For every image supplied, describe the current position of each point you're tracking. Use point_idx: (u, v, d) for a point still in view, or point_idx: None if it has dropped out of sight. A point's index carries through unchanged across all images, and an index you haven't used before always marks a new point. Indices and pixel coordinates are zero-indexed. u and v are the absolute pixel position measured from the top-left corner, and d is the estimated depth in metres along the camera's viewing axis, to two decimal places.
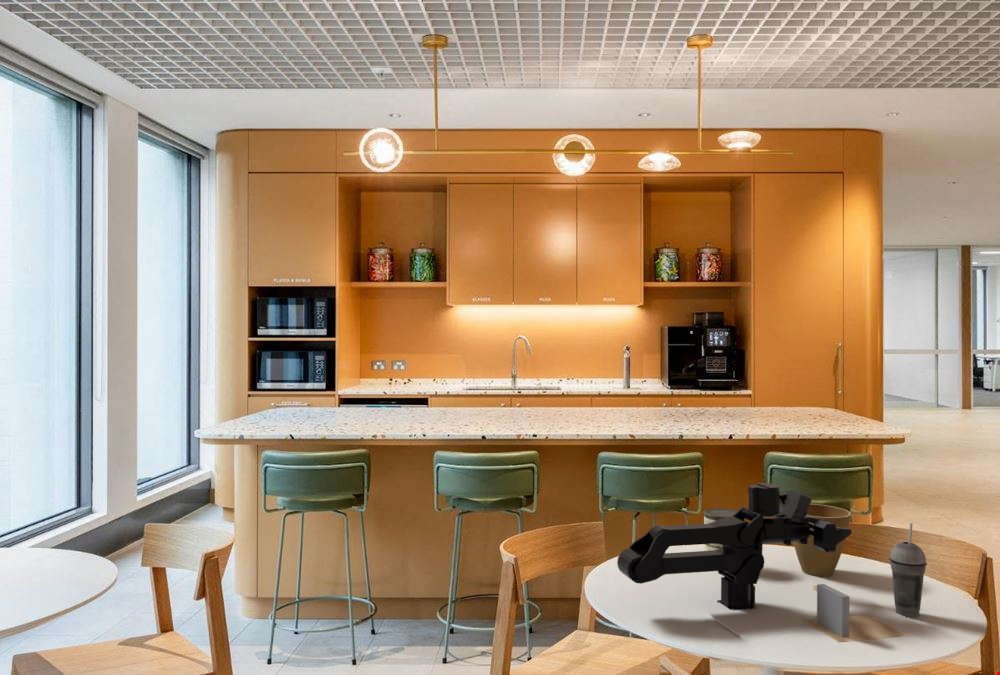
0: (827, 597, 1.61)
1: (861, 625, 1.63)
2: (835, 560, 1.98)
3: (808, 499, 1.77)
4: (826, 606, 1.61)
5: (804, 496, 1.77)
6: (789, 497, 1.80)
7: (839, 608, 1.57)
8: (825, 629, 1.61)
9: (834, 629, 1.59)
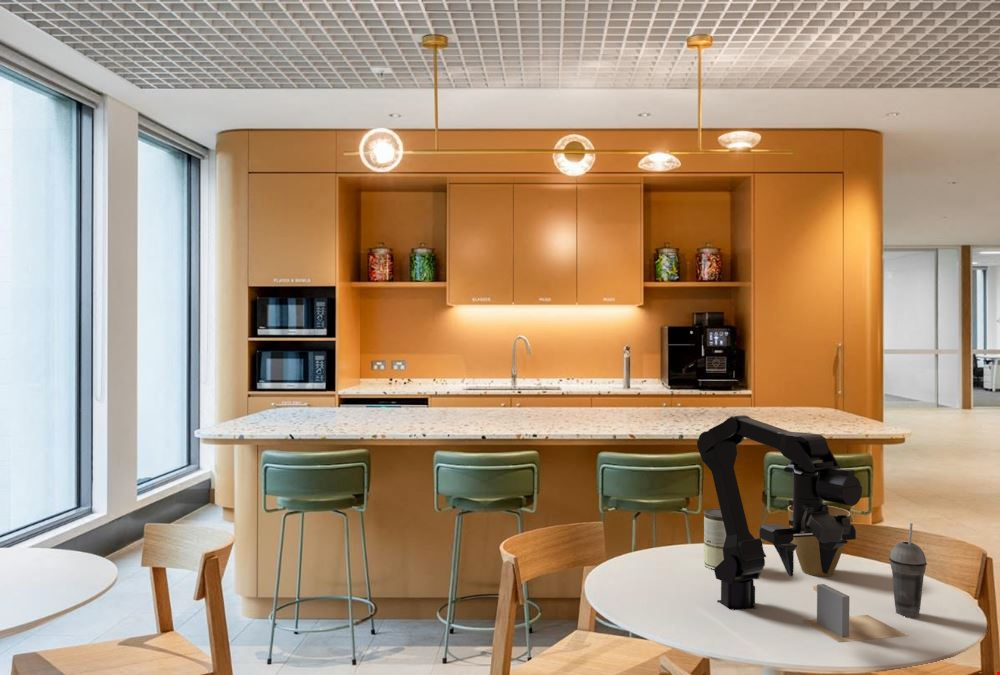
0: (827, 597, 1.61)
1: (861, 625, 1.63)
2: (835, 560, 1.98)
3: (820, 537, 1.52)
4: (826, 606, 1.61)
5: (823, 533, 1.51)
6: (835, 523, 1.53)
7: (839, 608, 1.57)
8: (825, 629, 1.61)
9: (834, 629, 1.59)
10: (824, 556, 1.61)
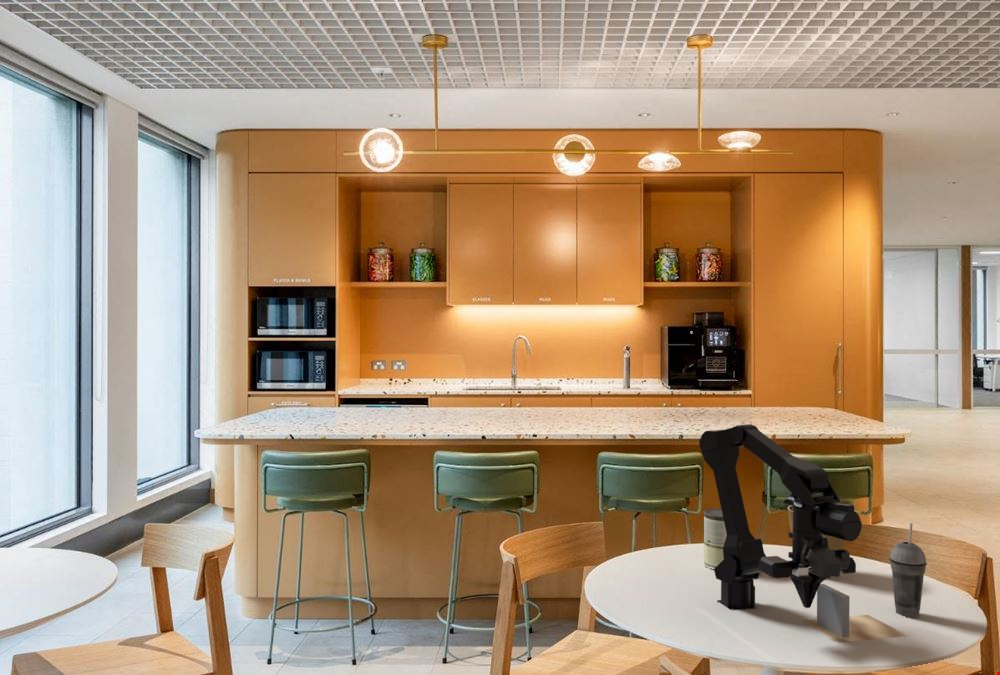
0: (827, 597, 1.61)
1: (861, 625, 1.63)
2: None
3: (819, 572, 1.52)
4: (826, 606, 1.61)
5: (822, 568, 1.51)
6: (834, 558, 1.53)
7: (839, 608, 1.57)
8: (825, 629, 1.61)
9: (834, 629, 1.59)
10: None
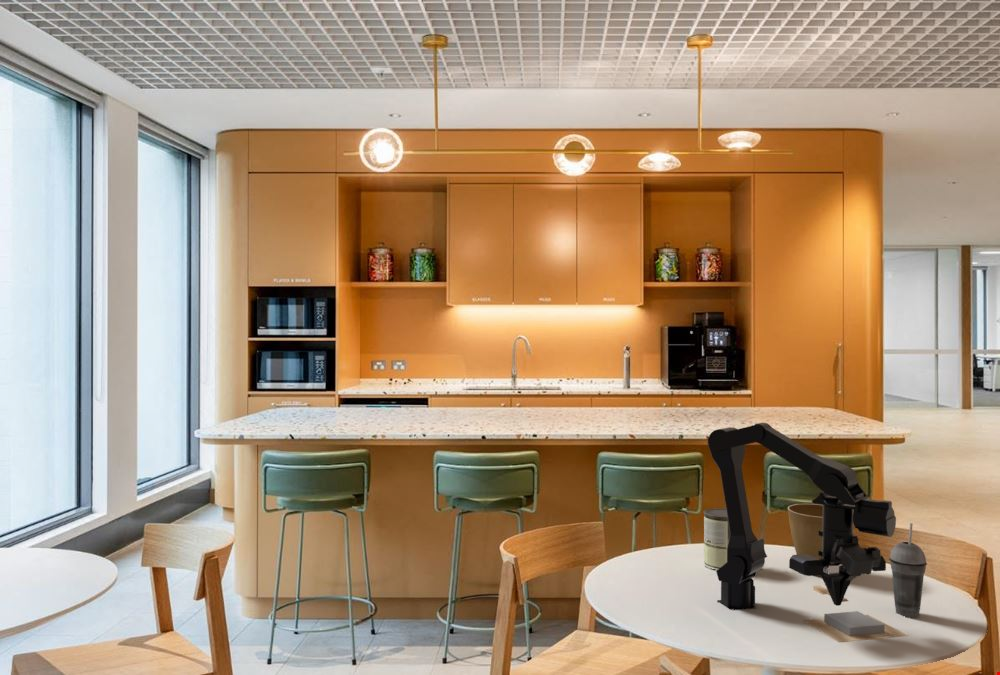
0: (861, 617, 1.63)
1: None
2: None
3: (850, 569, 1.53)
4: (853, 617, 1.63)
5: (853, 566, 1.53)
6: (865, 555, 1.54)
7: (870, 624, 1.59)
8: (825, 629, 1.61)
9: (845, 623, 1.59)
10: None
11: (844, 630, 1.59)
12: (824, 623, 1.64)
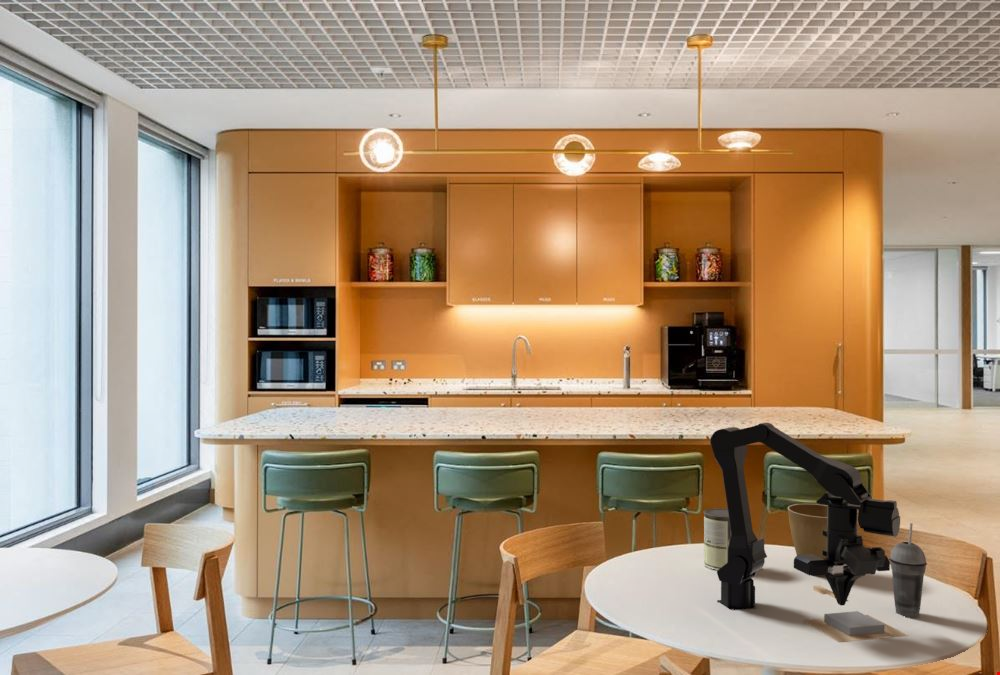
0: (861, 617, 1.63)
1: None
2: None
3: (855, 569, 1.54)
4: (853, 617, 1.63)
5: (858, 566, 1.53)
6: (870, 556, 1.55)
7: (870, 624, 1.59)
8: (825, 629, 1.61)
9: (845, 623, 1.59)
10: None
11: (844, 630, 1.59)
12: (824, 623, 1.64)
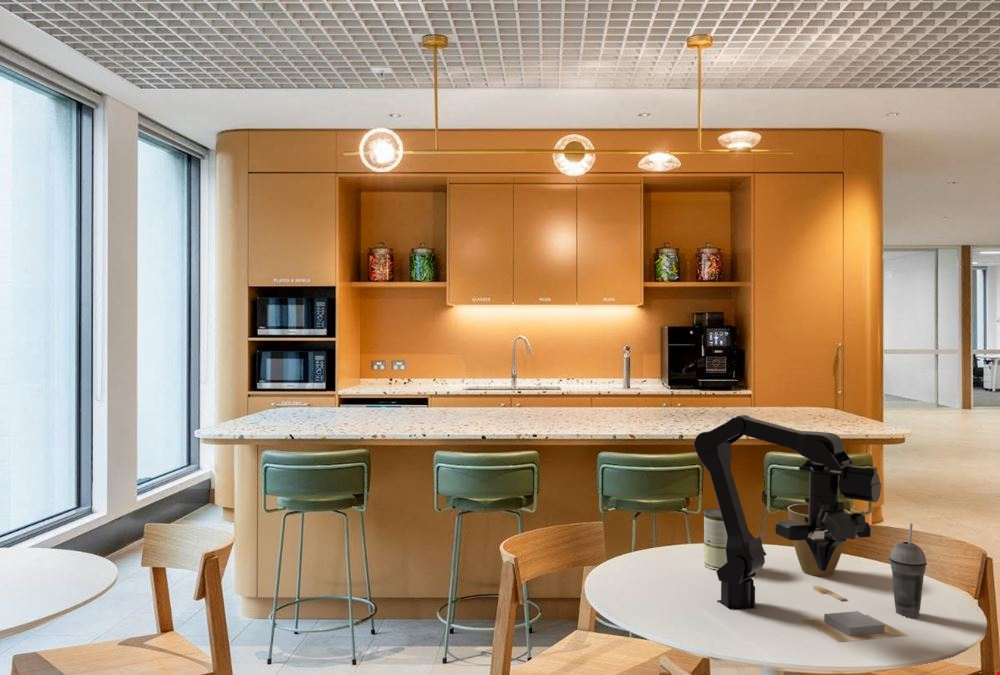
0: (861, 617, 1.63)
1: None
2: (835, 560, 1.98)
3: (834, 534, 1.55)
4: (853, 617, 1.63)
5: (838, 530, 1.55)
6: (850, 521, 1.56)
7: (870, 624, 1.59)
8: (825, 629, 1.61)
9: (845, 623, 1.59)
10: None
11: (844, 630, 1.59)
12: (824, 623, 1.64)
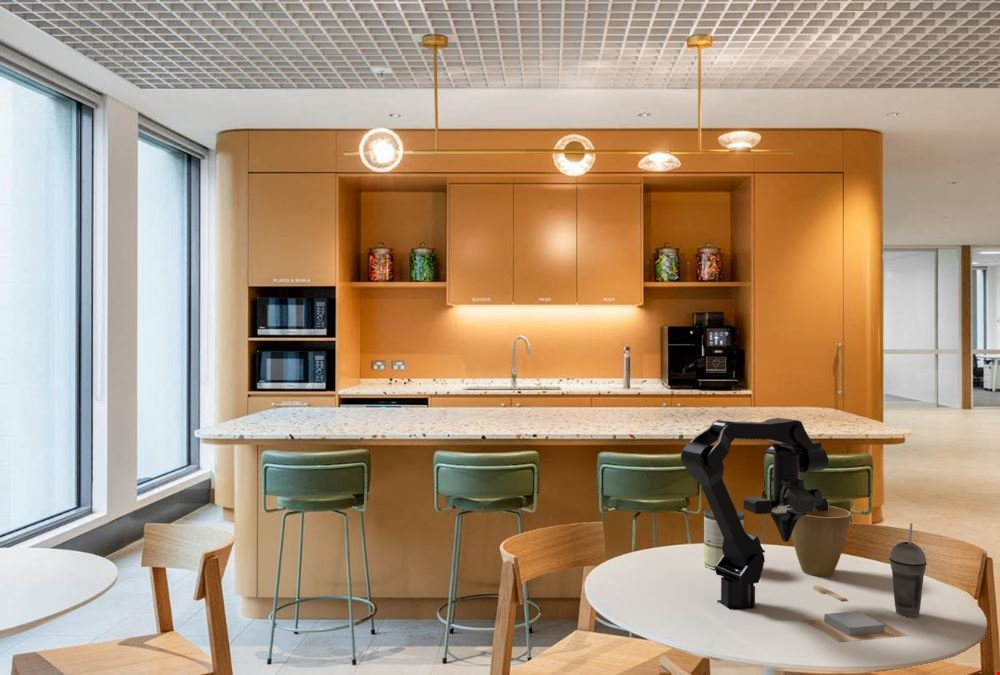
0: (861, 617, 1.63)
1: None
2: (835, 560, 1.98)
3: (795, 507, 1.74)
4: (853, 617, 1.63)
5: (798, 504, 1.74)
6: (809, 496, 1.75)
7: (870, 624, 1.59)
8: (825, 629, 1.61)
9: (845, 623, 1.59)
10: None
11: (844, 630, 1.59)
12: (824, 623, 1.64)
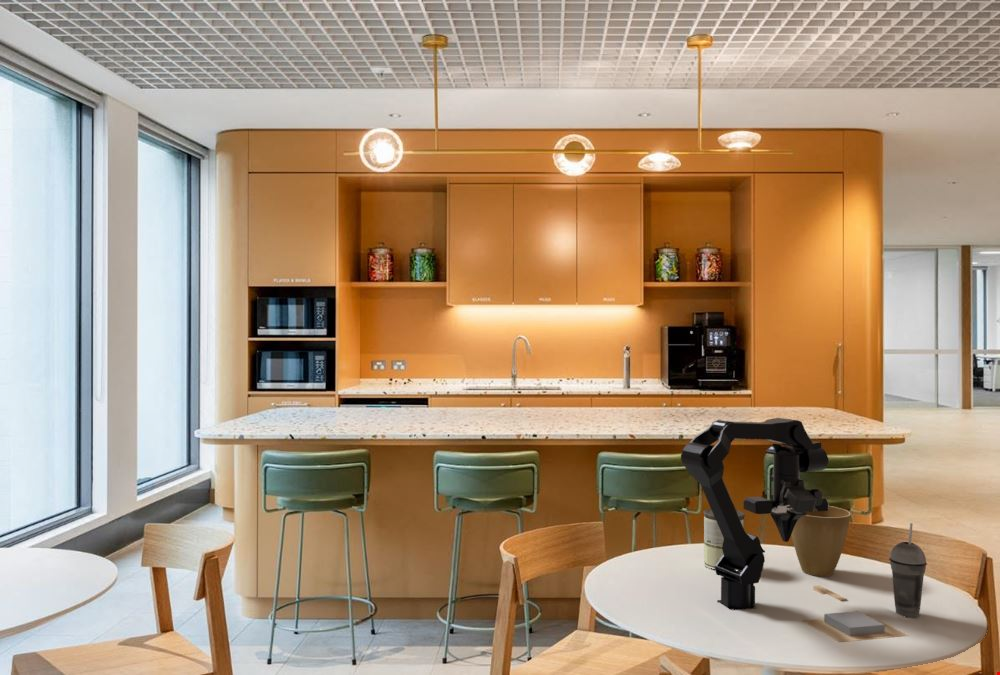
0: (861, 617, 1.63)
1: None
2: (835, 560, 1.98)
3: (795, 507, 1.74)
4: (853, 617, 1.63)
5: (798, 504, 1.74)
6: (809, 496, 1.75)
7: (870, 624, 1.59)
8: (825, 629, 1.61)
9: (845, 623, 1.59)
10: None
11: (844, 630, 1.59)
12: (824, 623, 1.64)
